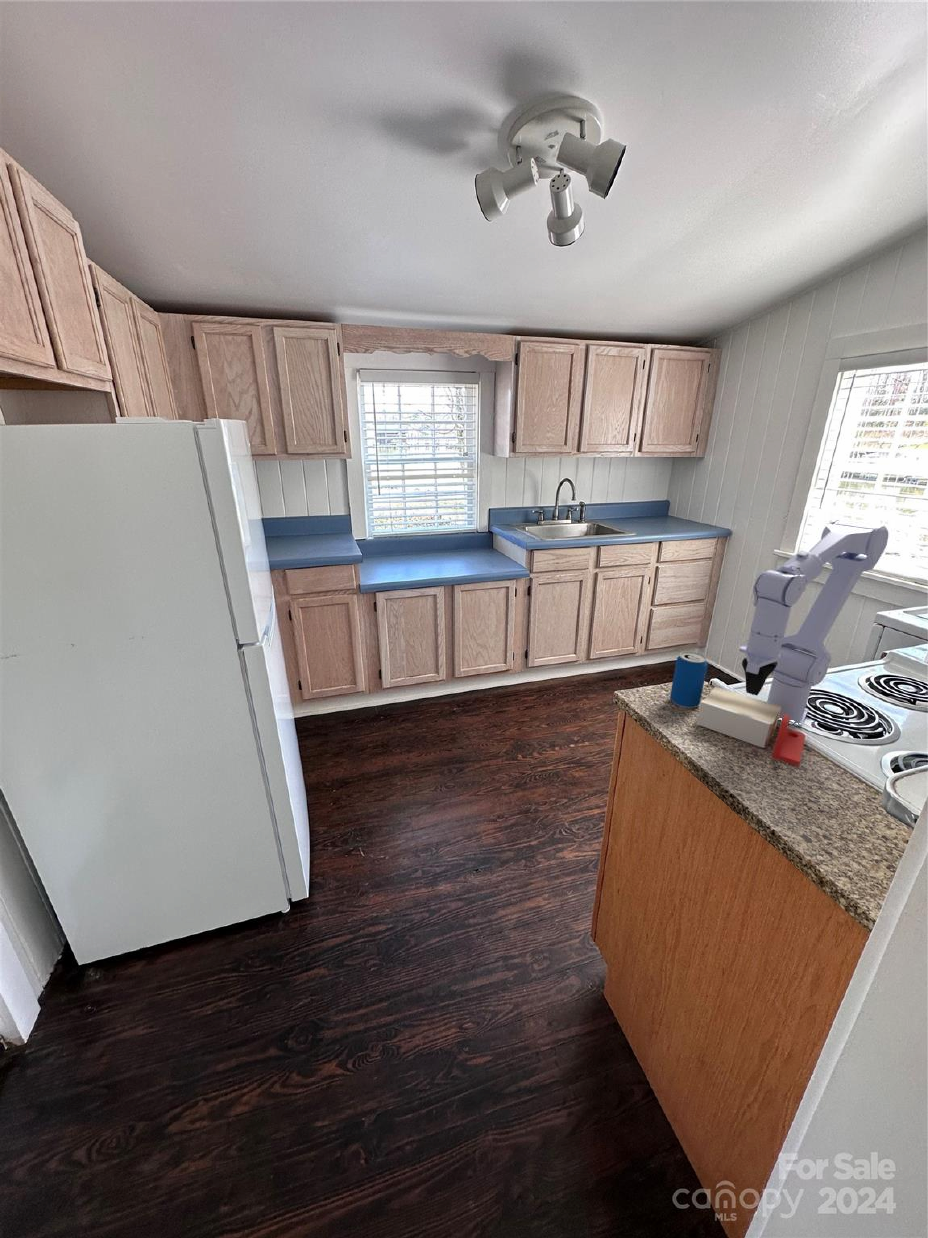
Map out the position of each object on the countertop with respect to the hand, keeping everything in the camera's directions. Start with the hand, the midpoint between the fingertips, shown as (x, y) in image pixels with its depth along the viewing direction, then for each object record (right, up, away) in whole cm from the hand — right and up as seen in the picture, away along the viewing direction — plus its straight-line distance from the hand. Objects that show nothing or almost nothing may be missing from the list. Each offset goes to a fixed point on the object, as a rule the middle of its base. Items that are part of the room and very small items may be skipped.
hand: (752, 693), depth 101 cm
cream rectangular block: (0, -8, +5) cm, 10 cm away
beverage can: (-8, -5, +15) cm, 17 cm away
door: (-4, -9, +2) cm, 10 cm away
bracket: (+6, -11, -2) cm, 13 cm away
